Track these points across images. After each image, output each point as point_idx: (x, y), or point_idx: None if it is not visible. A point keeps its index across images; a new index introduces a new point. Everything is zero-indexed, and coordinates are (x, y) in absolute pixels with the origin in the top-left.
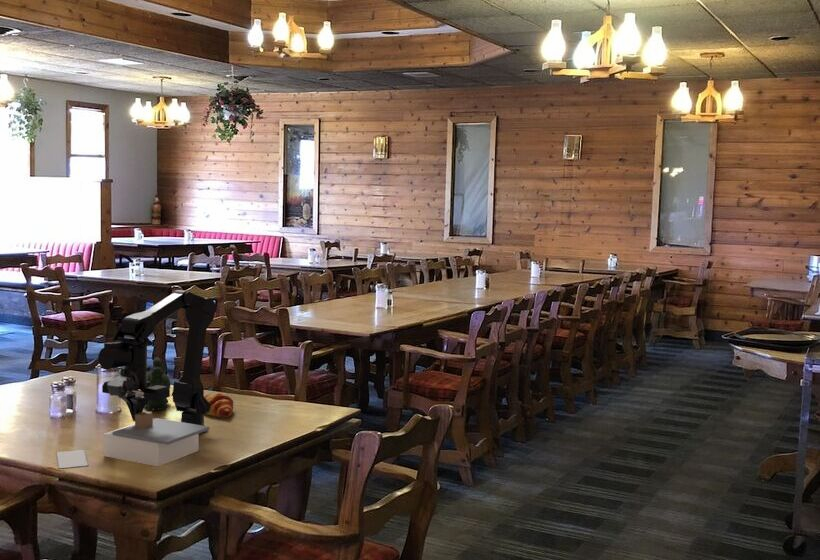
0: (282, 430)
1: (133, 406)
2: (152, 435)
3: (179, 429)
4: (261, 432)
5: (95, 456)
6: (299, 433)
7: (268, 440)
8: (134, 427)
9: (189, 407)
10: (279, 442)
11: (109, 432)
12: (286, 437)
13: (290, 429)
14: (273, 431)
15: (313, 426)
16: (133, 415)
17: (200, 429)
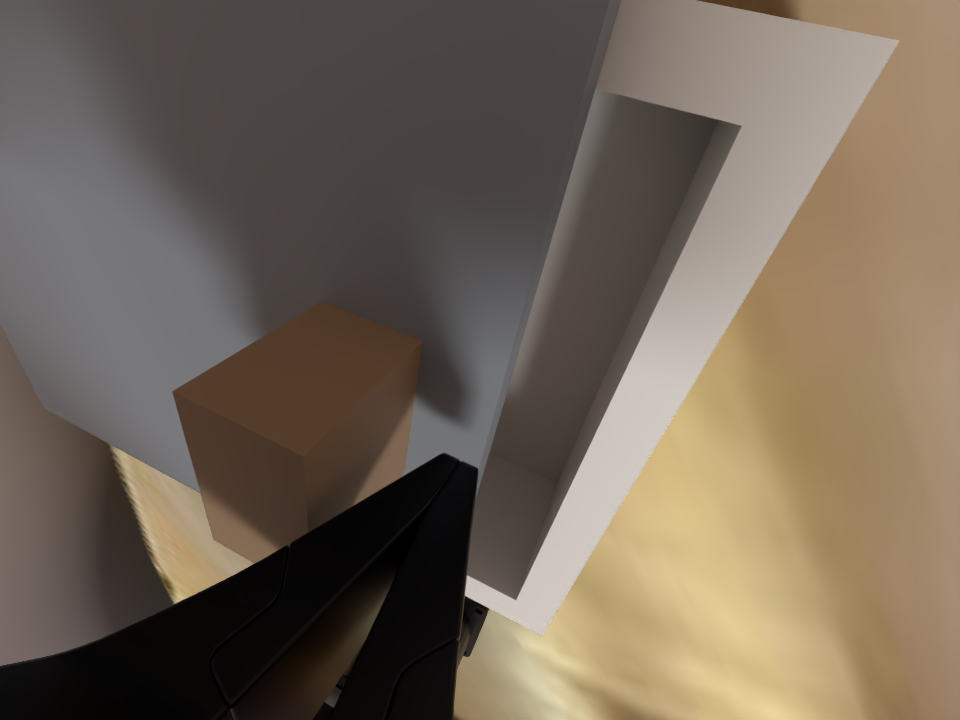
0: (210, 571)
1: (283, 648)
2: (24, 8)
3: (80, 319)
4: (238, 562)
5: (933, 3)
6: (159, 540)
7: (163, 484)
8: (425, 334)
9: (318, 711)
10: (127, 463)
11: (784, 167)
12: (152, 509)
13: (201, 576)
14: (220, 566)
15: (181, 589)
16: (425, 516)
17: (13, 341)
